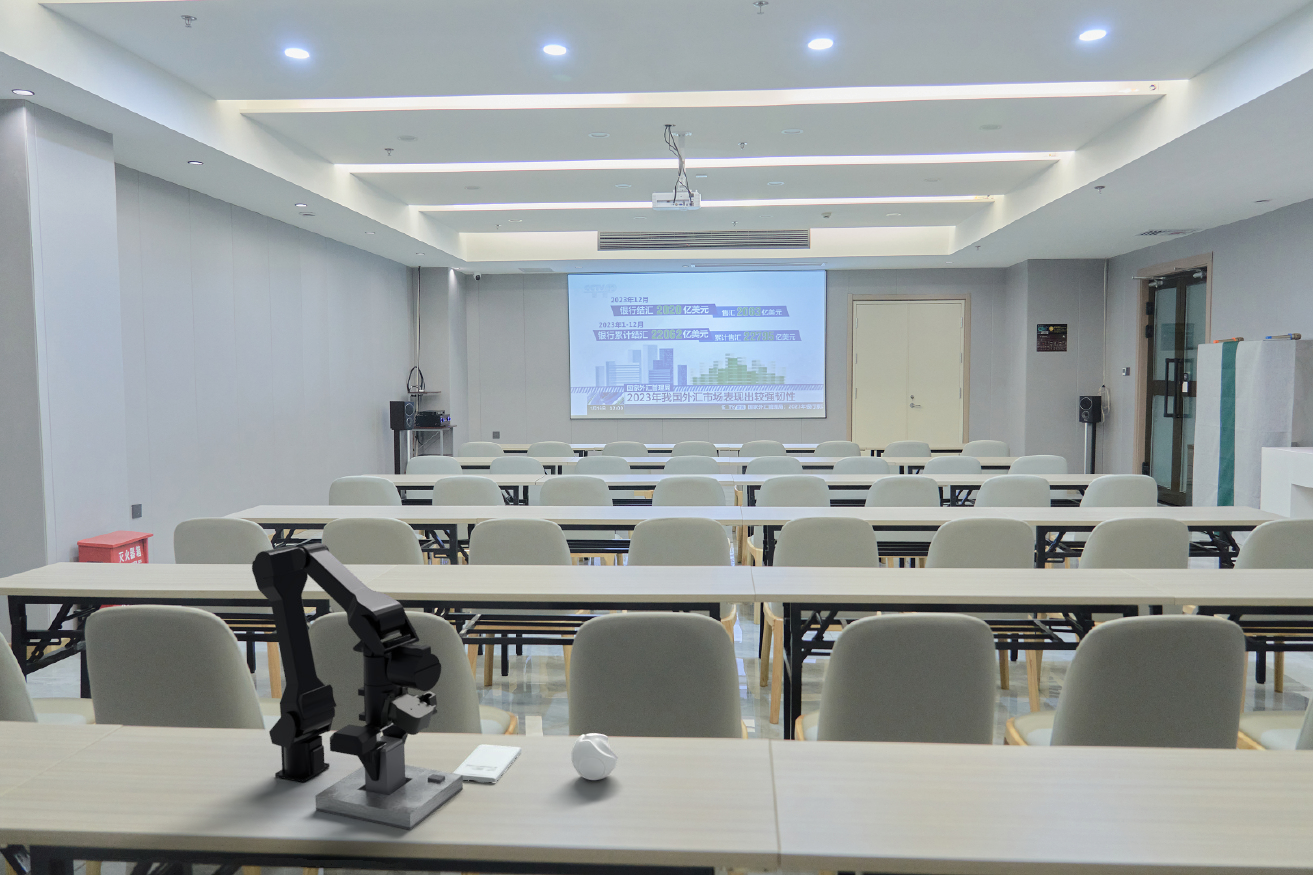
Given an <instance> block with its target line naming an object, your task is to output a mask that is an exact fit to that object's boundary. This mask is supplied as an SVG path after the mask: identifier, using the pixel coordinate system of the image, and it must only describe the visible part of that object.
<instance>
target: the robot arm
mask: <svg viewBox="0 0 1313 875" xmlns="http://www.w3.org/2000/svg"><path fill="white" fill-rule="evenodd" d="M251 572H252V574H253V576H254V579H255V583H256V587H257V589H258V591H259V592H260V593H261V594H262V595H263V596H264V597H265V598H266V599H267V600H268V601H269V602H270V604H271V605H270V606H271V610H272V611H271V612H272V616H273V621H274V625H275V630H276V632H275V633H276V637H277V642H278V647H279V653H280V657H281V658H280V659H281V662H282V663H281V664H282V667H283V673H284V674H283V675H284V679H285V688H284V691H283V693H282V696H281V698H280V700H279V712H280V718H279V719H278V721H276V723H274V725H273V726H272V727H271V729H270V730H269V738H270V741H271V744H273V745H275V746H278V747H280V748H281V749H280V750H281V753H280V754H281V770H279V771H276V772H275V774H274V776H275V777H276V778H281V779H286V780H291V781H292V780H293V781H297V782H302V783H303V782H307V781H308V780H310V779H311V778H313V777H315V776H317V775H318V774H320V773H323V771H325V770H327V769H328V768H330V765H331V764H330V763H328V762H325V746H324V745H323V735H322V734H325V733H329V732H330V731H331V728H332V725H333V721H334V718H335V716H336V709H335V708H337V703H336V701H335V698H334V697H335V696H334V690H333V689H334V688H333V686H332V685H331V684H330V683H328V684H325V683H324V682H323V681H322V680H321V679H320V678H319V677H318V674H317V670H316V664H315V658H314V655H313V648H312V644H311V638H310V633H309V628H308V622H307V618H306V613H305V606H304V603H303V602H304V601H303V596H302V595H303V591H304V589H305V587H306V584H307V581H308V576H309V577H310V578H311V579H312V580H313V581H314V582H315V583H316V584H317V585H318V586H319V587H320V588H321V589H322V590H323V591H324V592H325V593H327V594H328V596H330V598H332V599H333V601H335V602H336V603H337V604H338V605H339V606H340V607H341V608H342V609H343V611H345V613H346V617H347V625H348V626H349V628H351V630H352V632H354V633H355V635H356V636H357V637H358V639H359V641H358V642H357V643H355V645H354V646H353V647H352V650H353V651H354V652H355V653H356V652H358V653H361V654H362V673H363V675H362V676H363V680H362V681H363V686H362V687H360V688H357V695H358V696H361V697H363V706H364V707H363V708H364V711H362V712H360V713H358V721H361V722H365V725H362V726H361V725H354V724H347V725H346V726H344V727H342V728H340V729H338V730H336V731H334V732H333V733H332V735H331V736H329V752H334V753H339V754H344V755H352V756H356V757H357V758H358V759H359V761H360V762H361V764H362V766H364V768H365V769H366V771H367V773H368V775H369V776H370V778H371V780H372V781H378V780H379V774H380V751H381V749H382V748H383V747H384V746H385V745H386V744H387V742H383V741H380V737H381V734H382V736H387V737H393V738H399V739H402V742H404V745H405V744H406V741H407V738H408V736H409V735H411V736H412V735H413V736H414V735H418V734H419V733H420V732H421V731H422V730H423V729H427V728H429V726H430V722H431V719H432V717H433V716H435V715H436V714H438V709H437V706H438V703H437V695H436V693H434V692H432V691H431V690H432V689H433V688H435V686H436V685H437V684H438V681H439V680H440V677H441V673H442V663H440V659H439V658H438V656H437V655H436V654H434V653H432V647H431V645H426V644H423V645H421V644H416V643H419V642H420V638H419V635H418V634H417V630H416V629H415V627H414V626H413V624H412V623H411V621H410V619H409V617H408V615H407V614H406V612H405V611H406V610H405V608H404V606H403V605H402V604H401V603H400V601H397V600H396V599H394V598H393V597H391V596H390V595H388V594H386V593H385V592H384V593H383V592H380V591H376V590H374V589H371V588H369V586H367V585H366V584H365V583H363V582H362V580H360V579H359V578H358V577H357V576H356V575H355V574H354V573H353V572H352V571H350V570H349V569H348V568H347V567H346V566H345V565H344V564H343V563H342V562H341V561H340V560H338V558H336V557H335V556H334V555H333V554H332V553H331V552H330V549H329V547H328V546H327V545H326V544H325V543H321V542H314V543H310V544H305V545H300V546H296V545H288V546H283V547H279V548H278V547H277V548H272V549H268V550H262V551H259V552H258V553H257V554H256V556H255V559H254V560H252V564H251ZM399 634H400V635H399ZM397 635H399V636H397ZM394 636H395V637H394ZM390 637H393V638H390ZM388 638H390V639H388ZM385 639H387V640H385ZM383 640H384V641H383ZM409 689H413V690H417V691H422V692H425V693H423V694H422V695H419V694H411V693H409Z"/></svg>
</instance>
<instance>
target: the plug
mask: <svg viewBox="0 0 1313 875" xmlns="http://www.w3.org/2000/svg"><path fill="white" fill-rule="evenodd" d="M380 741H383V742H387V744H386V745H385V746H384V747H383V748H382V749H381V751H380V774H379V780H378V781H372V780H371V778H370V776H369V775H368V773H367V771H366V769H365V787H366V791H368V792H373V793H378V794H383V795H388V796H389V795H390V794H391V793H393V792H394V791H396V790H397V789H399V788H400V787H402V786H403V785H405V784H406V783H405V765H406V762H405V744H404V742H402V739H399V738H393V737H387V736H383V735H380Z"/></svg>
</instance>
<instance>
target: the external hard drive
mask: <svg viewBox="0 0 1313 875" xmlns="http://www.w3.org/2000/svg"><path fill="white" fill-rule="evenodd" d="M520 753H521V754H522V747H519V746H509V745H496V744H485V743H482V744H479V745H477V747H476V748H475V749H474V750H473V751H472V752H471V753H470V754H469V756H467V757H466V758H465V760H463V762H462V763H460V765H459V766H458V767H457V768H456V769H455V770H454V771H453V772H452V773H455V774H460V775H462V778H463V780H468V781H467V782H470V781H469V780H474V781H473V782H477V781H478V782H477V783H484V782H496V783H497V782H498V781H499V780H500V779H501V778H502V776H503V775H504V774H505V773H506V772H505V770H506V769H507V768H508V766H509V765H510V764H511V763H512V762H513V761H514V760H515V758H516V757H517V756H518V755H519V754H520ZM521 754H520V755H521ZM520 755H519V756H520ZM519 756H518V757H519ZM518 757H517V758H518ZM517 758H516V759H517ZM515 761H516V760H515ZM515 761H514V762H515ZM514 762H513V763H514ZM513 763H512V764H513ZM512 764H511V765H512ZM508 769H509V768H508ZM508 769H507V770H508ZM507 770H506V771H507ZM504 772H505V773H504ZM503 773H504V774H503ZM502 774H503V775H502ZM501 775H502V776H501ZM500 777H501V778H500ZM499 778H500V779H499ZM498 779H499V780H498ZM497 780H498V781H497Z"/></svg>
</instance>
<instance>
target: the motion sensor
mask: <svg viewBox="0 0 1313 875" xmlns="http://www.w3.org/2000/svg"><path fill="white" fill-rule="evenodd" d="M618 759H619V756H618V755H616V753H615V752H614V751H613V750H612V748H611V745H610V743H609V737H608V736H607V735H605V734H603V733H602V734H601V733H595V732H593V733H592V732H591V733H586V734H581V735H579V737H577V739H576V740H575V742H574V745H573V747H572V750H571V763H572V767H573V768H574V770H575V771H576V773H577V774H578V775H579V776H580V777H582V778H584V779H586V780H589V781H597V780H603V779H606V777H609V775H611V773H612V772H614V770H615V768H616V766H617V763H618Z"/></svg>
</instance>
